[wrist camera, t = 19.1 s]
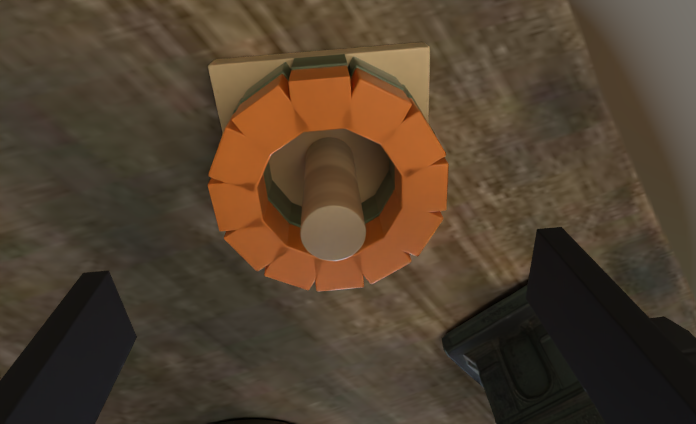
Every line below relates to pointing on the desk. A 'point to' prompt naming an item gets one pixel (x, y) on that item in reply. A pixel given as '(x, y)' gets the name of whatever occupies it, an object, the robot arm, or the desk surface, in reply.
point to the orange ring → (317, 115)
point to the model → (519, 366)
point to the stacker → (327, 143)
